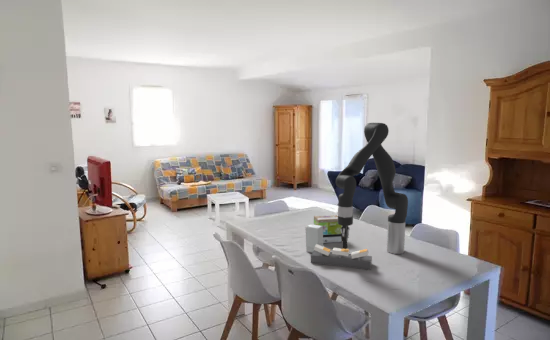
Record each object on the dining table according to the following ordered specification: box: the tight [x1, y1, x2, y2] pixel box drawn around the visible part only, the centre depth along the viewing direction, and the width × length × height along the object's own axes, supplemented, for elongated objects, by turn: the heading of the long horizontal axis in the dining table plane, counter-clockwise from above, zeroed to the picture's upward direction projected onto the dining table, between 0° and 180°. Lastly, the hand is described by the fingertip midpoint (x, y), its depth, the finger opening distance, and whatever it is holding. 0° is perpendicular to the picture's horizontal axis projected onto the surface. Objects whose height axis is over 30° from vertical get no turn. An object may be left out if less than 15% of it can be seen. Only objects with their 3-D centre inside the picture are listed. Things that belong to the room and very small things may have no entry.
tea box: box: [313, 214, 342, 244], centre depth 230 cm, size 15×10×15 cm
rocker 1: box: [314, 244, 332, 256], centre depth 194 cm, size 4×8×2 cm, turn 71°
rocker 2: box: [331, 247, 350, 256], centre depth 191 cm, size 4×8×2 cm, turn 71°
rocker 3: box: [350, 248, 369, 259], centre depth 188 cm, size 4×8×2 cm, turn 71°
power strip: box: [310, 250, 373, 270], centre depth 194 cm, size 8×30×5 cm, turn 71°
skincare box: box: [304, 224, 324, 254], centre depth 211 cm, size 8×6×15 cm
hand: (344, 248), depth 191 cm, fingers closed
